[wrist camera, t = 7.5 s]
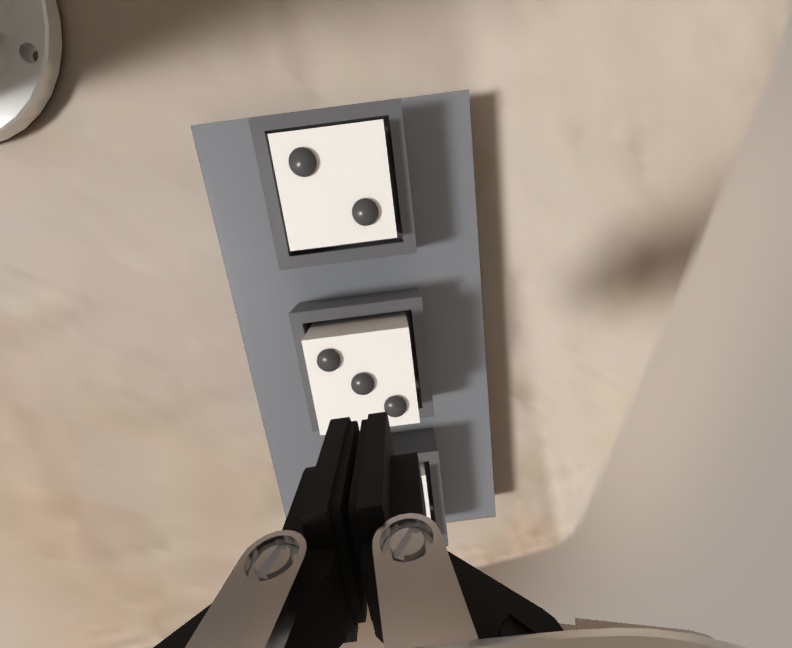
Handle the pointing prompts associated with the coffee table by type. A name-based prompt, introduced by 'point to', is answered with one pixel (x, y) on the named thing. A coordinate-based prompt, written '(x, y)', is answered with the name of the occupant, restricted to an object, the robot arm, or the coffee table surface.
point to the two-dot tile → (334, 184)
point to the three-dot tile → (361, 369)
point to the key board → (365, 288)
